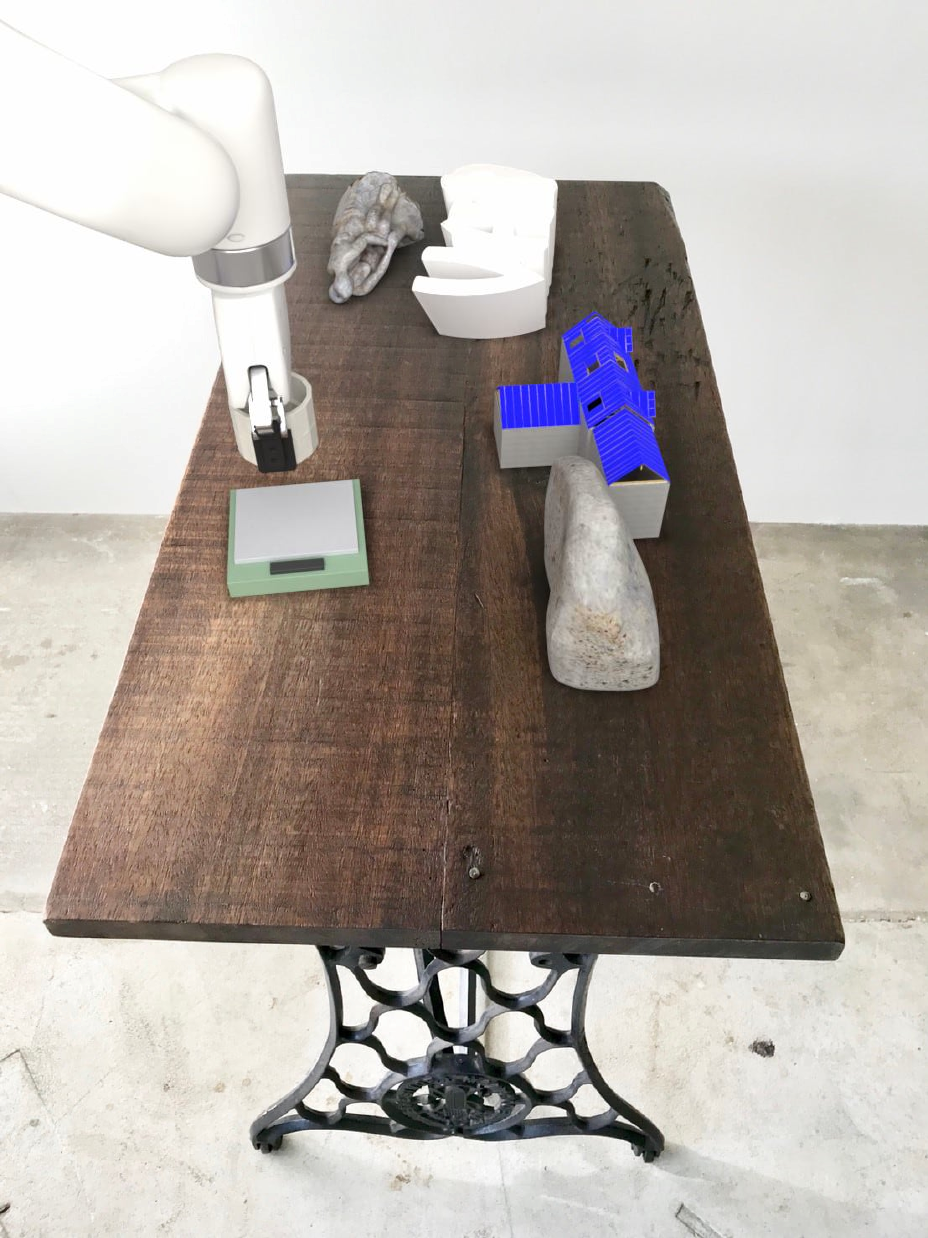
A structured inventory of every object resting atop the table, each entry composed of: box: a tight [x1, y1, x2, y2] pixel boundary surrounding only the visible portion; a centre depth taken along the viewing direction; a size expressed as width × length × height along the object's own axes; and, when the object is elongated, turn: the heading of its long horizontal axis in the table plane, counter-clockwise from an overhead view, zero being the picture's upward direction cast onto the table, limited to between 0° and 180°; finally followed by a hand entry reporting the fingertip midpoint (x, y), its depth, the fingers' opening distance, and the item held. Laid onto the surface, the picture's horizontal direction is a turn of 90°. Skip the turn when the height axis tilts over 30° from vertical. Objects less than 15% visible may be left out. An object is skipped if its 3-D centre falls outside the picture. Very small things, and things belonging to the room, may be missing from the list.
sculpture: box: [326, 170, 426, 304], centre depth 125 cm, size 11×18×12 cm
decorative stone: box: [543, 456, 661, 692], centre depth 82 cm, size 17×20×10 cm
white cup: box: [227, 371, 319, 467], centre depth 83 cm, size 7×7×6 cm
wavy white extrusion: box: [411, 163, 559, 340], centre depth 123 cm, size 35×16×10 cm, turn 170°
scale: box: [226, 478, 370, 598], centre depth 94 cm, size 13×13×3 cm
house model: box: [493, 310, 671, 540], centre depth 100 cm, size 25×15×10 cm, turn 5°
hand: (277, 439), depth 84 cm, fingers closed on white cup, 7 cm apart
